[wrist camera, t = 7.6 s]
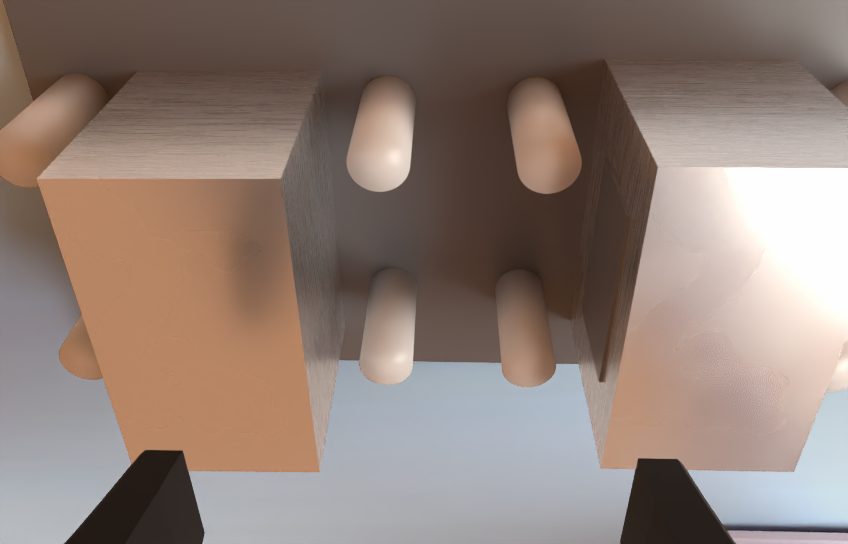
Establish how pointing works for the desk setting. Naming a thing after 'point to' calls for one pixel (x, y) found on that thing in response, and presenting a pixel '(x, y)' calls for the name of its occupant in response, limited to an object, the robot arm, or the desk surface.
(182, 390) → the light wooden block
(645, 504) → the robot arm
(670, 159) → the tan rectangular block
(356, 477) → the desk surface
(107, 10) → the grey peg board
